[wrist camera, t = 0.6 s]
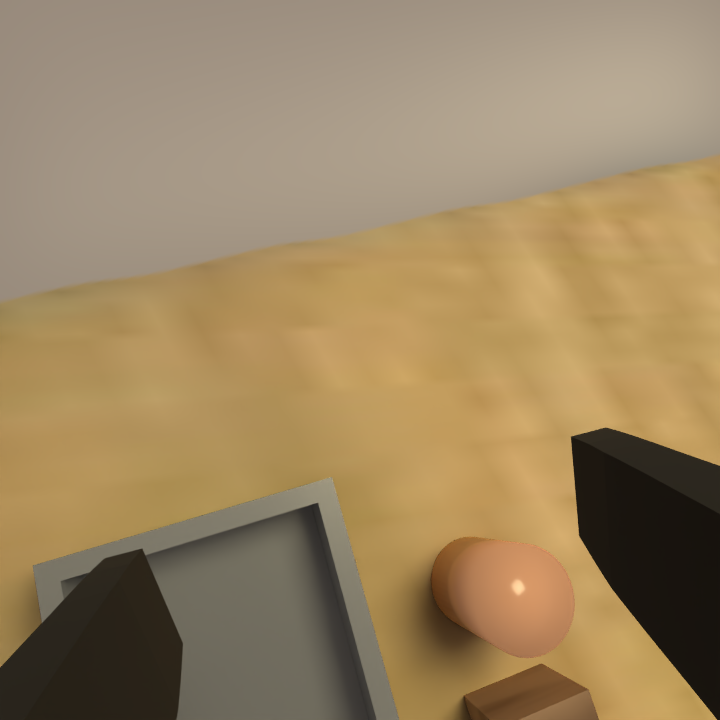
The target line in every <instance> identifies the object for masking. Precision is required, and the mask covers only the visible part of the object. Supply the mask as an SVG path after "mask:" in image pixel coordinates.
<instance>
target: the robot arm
mask: <svg viewBox="0 0 720 720" xmlns="http://www.w3.org/2000/svg"><path fill="white" fill-rule="evenodd" d="M571 442H572V454H573V466H574V478H575V490H576V502H577V514H578V526H579V536H580V538H581V540H582V541H583V543H584V545H585V546H586V548H587V550H588V551H589V553H590V555H591V556H592V558H593V560H594V561H595V563H596V565H597V566H598V568H599V569H600V571H601V572H602V574H603V575H604V577H605V579H606V580H607V582H608V583H609V585H610V586H611V588H612V589H613V591H614V592H615V593H616V594H617V596H618V597H619V598H620V600H621V601H622V602H623V603H624V605H625V606H626V607H627V608H628V610H629V611H630V612H631V613H632V615H633V616H634V617H635V618H636V620H637V621H638V622H639V623H640V625H641V626H642V627H643V628H644V630H645V631H646V632H647V633H648V635H649V636H650V637H651V638H652V640H653V641H654V642H655V643H656V645H657V646H658V647H659V648H660V649H661V651H662V652H663V653H664V654H665V656H666V657H667V658H668V659H669V661H670V662H671V663H672V664H673V665H674V667H675V668H676V669H677V670H678V672H679V673H680V674H681V675H682V677H683V678H684V679H685V680H686V682H687V683H688V684H689V685H690V686H691V688H692V689H693V690H694V691H695V693H696V694H697V695H698V696H699V698H700V699H701V700H702V701H703V702H704V704H705V705H706V706H707V707H708V709H709V710H710V711H711V712H712V714H713V715H714V716H715V717H716V719H717V720H720V466H718V465H715V464H712V463H710V462H707V461H704V460H701V459H698V458H695V457H692V456H690V455H687V454H684V453H681V452H678V451H675V450H673V449H670V448H667V447H664V446H661V445H659V444H656V443H653V442H650V441H647V440H644V439H641V438H638V437H635V436H632V435H629V434H626V433H623V432H620V431H616V430H613V429H609V428H603V429H599V430H595V431H591V432H587V433H583V434H580V435H576V436H572V437H571ZM182 654H183V642H182V640H181V637H180V635H179V633H178V630H177V628H176V626H175V623H174V621H173V619H172V616H171V614H170V612H169V609H168V607H167V605H166V602H165V600H164V598H163V595H162V593H161V591H160V588H159V586H158V584H157V581H156V579H155V577H154V574H153V572H152V570H151V567H150V565H149V563H148V560H147V558H146V556H145V553H144V551H143V549H138V550H134V551H130V552H127V553H123V554H119V555H115V556H111V557H107V558H104V559H103V560H102V561H101V562H100V563H99V564H98V565H97V566H96V567H95V568H94V569H93V570H92V571H91V572H90V573H89V574H88V575H87V576H86V577H85V578H84V579H83V580H82V581H81V582H80V583H79V584H78V585H77V586H76V587H75V588H74V589H73V590H72V591H71V592H70V593H69V595H68V596H67V597H66V598H65V599H64V600H63V601H62V602H61V603H60V604H59V605H58V606H57V607H56V609H55V610H54V611H53V612H52V613H51V614H50V615H49V616H48V617H47V618H46V619H45V620H44V621H43V623H42V624H41V625H40V626H39V627H38V628H37V629H36V630H35V631H34V632H33V633H32V634H31V635H30V636H29V638H28V639H27V640H26V641H25V642H24V643H23V644H22V645H21V646H20V647H19V648H18V649H17V650H16V651H15V653H14V654H13V655H12V656H11V657H10V658H9V659H8V660H7V661H6V662H5V663H4V664H3V665H2V666H1V667H0V720H176V719H177V714H178V707H179V696H180V685H181V670H182Z"/></svg>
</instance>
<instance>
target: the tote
mask: <svg viewBox="0 0 720 720" xmlns="http://www.w3.org/2000/svg"><path fill="white" fill-rule="evenodd" d="M138 549H143V551H144V553H145V556H146V558H147V560H148V563H149V565H150V567H151V570H152V572H153V574H154V577H155V579H156V581H157V584H158V586H159V588H160V591H161V593H162V595H163V598H164V600H165V602H166V605H167V607H168V609H169V612H170V614H171V616H172V619H173V621H174V623H175V626H176V628H177V630H178V633H179V635H180V637H181V640H182V642H183V654H182V670H181V685H180V696H179V707H178V714H177V719H176V720H399V717H398V714H397V710H396V706H395V703H394V699H393V696H392V692H391V688H390V685H389V681H388V678H387V674H386V670H385V667H384V663H383V660H382V656H381V652H380V649H379V645H378V642H377V638H376V634H375V631H374V627H373V624H372V620H371V616H370V613H369V609H368V606H367V602H366V598H365V595H364V591H363V588H362V584H361V580H360V577H359V573H358V570H357V566H356V562H355V559H354V555H353V552H352V548H351V544H350V541H349V537H348V534H347V530H346V526H345V523H344V519H343V516H342V512H341V508H340V505H339V501H338V498H337V494H336V490H335V487H334V483H333V480H332V477H331V478H327V479H324V480H320V481H317V482H314V483H310V484H307V485H304V486H300V487H297V488H293V489H290V490H287V491H283V492H280V493H277V494H273V495H270V496H266V497H263V498H260V499H256V500H253V501H250V502H246V503H243V504H239V505H236V506H233V507H229V508H226V509H223V510H219V511H216V512H212V513H209V514H206V515H202V516H199V517H196V518H192V519H189V520H185V521H182V522H179V523H175V524H172V525H169V526H165V527H162V528H158V529H155V530H152V531H148V532H145V533H141V534H138V535H135V536H131V537H128V538H125V539H121V540H118V541H114V542H111V543H108V544H104V545H101V546H98V547H94V548H91V549H87V550H84V551H81V552H77V553H74V554H71V555H67V556H64V557H60V558H57V559H54V560H50V561H47V562H44V563H40V564H37V565H33V571H34V577H35V583H36V589H37V595H38V601H39V607H40V614H41V620H42V623H43V621H44V620H45V619H46V618H47V617H48V616H49V615H50V614H51V613H52V612H53V611H54V610H55V609H56V607H57V606H58V605H59V604H60V603H61V602H62V601H63V600H64V599H65V598H66V597H67V596H68V595H69V593H70V592H71V591H72V590H73V589H74V588H75V587H76V586H77V585H78V584H79V583H80V582H81V581H82V580H83V579H84V578H85V577H86V576H87V575H88V574H89V573H90V572H91V571H92V570H93V569H94V568H95V567H96V566H97V565H98V564H99V563H100V562H101V561H102V560H103V559H104V558H107V557H111V556H115V555H119V554H123V553H127V552H130V551H134V550H138Z"/></svg>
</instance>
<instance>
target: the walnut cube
mask: <svg viewBox="0 0 720 720" xmlns="http://www.w3.org/2000/svg"><path fill="white" fill-rule="evenodd" d="M464 698H465V702H466V705H467V708H468V711H469V715H470V718H471V720H599V719H598V716H597V713H596V710H595V707H594V704H593V701H592V698H591V695H590V692H589V690H588V689H587V688H585V687H583V686H581V685H579V684H577V683H576V682H574V681H572V680H570V679H568V678H567V677H565V676H563V675H561V674H559V673H558V672H556V671H554V670H552V669H550V668H549V667H547V666H545V665H543V664H539V665H537V666H534V667H532V668H530V669H527V670H525V671H522V672H520V673H517V674H515V675H513V676H510V677H508V678H505V679H503V680H500V681H498V682H496V683H493V684H491V685H488V686H486V687H483V688H481V689H479V690H476V691H474V692H471V693H469V694H466V695H464Z"/></svg>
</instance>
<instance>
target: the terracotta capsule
mask: <svg viewBox="0 0 720 720" xmlns="http://www.w3.org/2000/svg"><path fill="white" fill-rule="evenodd" d="M431 585H432V591H433V595H434V598H435V601H436V603H437V605H438V607H439V608H440V610H441V611H442V612H443V613H444V614H445V616H447V617H448V618H449V619H450V620H452V621H453V622H455V623H456V624H458V625H460V626H462V627H463V628H465V629H467V630H468V631H470V632H472V633H473V634H475V635H477V636H479V637H480V638H482V639H484V640H485V641H487V642H489V643H490V644H492V645H494V646H495V647H497V648H499V649H501V650H502V651H504V652H506V653H508V654H510V655H513V656H516V657H522V658H533V657H538V656H541V655H544V654H546V653H548V652H550V651H552V650H553V649H554V648H556V647H557V646H558V645H559V644H560V643H561V642H562V640H563V639H564V638H565V636H566V634H567V633H568V631H569V629H570V626H571V623H572V620H573V615H574V606H575V602H574V592H573V588H572V584H571V581H570V579H569V576H568V574H567V572H566V571H565V569H564V568H563V566H562V565H561V563H560V562H559V561H558V560H557V559H556V558H555V557H554V556H553V555H552V554H550V553H549V552H547V551H546V550H544V549H542V548H540V547H538V546H535V545H530V544H524V543H517V542H509V541H501V540H494V539H486V538H478V537H463V538H459V539H457V540H454V541H453V542H451V543H449V544H448V545H447V546H446V547H445V548H444V549H443V550H442V551H441V552H440V554H439V555H438V557H437V559H436V560H435V563H434V566H433V570H432V576H431Z"/></svg>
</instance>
